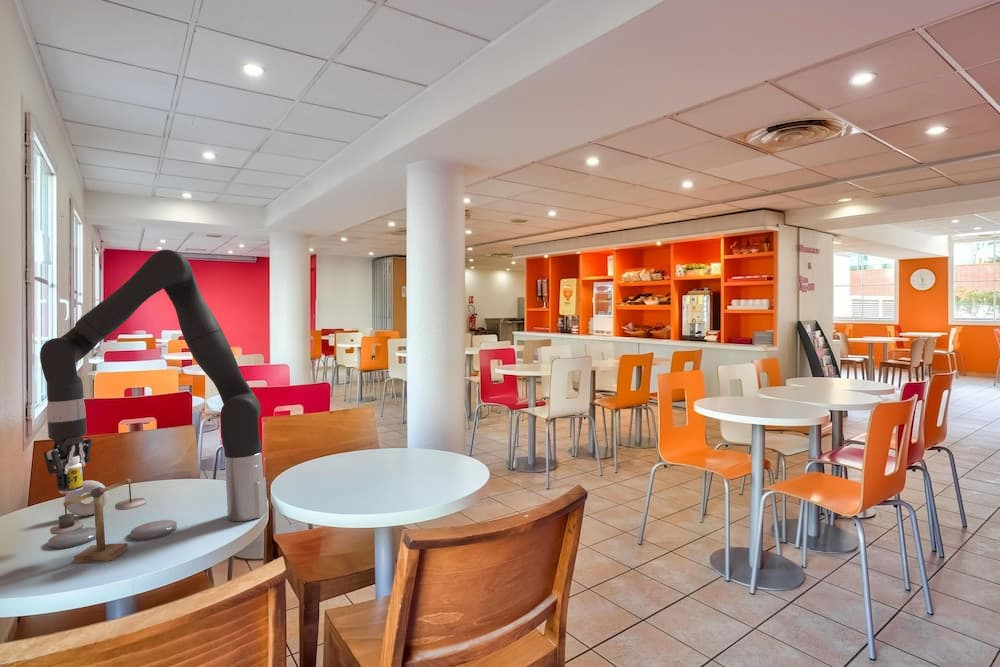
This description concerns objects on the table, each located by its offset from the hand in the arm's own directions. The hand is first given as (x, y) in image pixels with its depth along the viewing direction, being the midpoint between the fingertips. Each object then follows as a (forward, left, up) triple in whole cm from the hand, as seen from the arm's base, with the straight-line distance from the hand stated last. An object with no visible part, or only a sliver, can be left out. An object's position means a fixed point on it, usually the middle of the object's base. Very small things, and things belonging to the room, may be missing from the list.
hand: (71, 485), depth 136 cm
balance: (-13, +11, -14) cm, 22 cm away
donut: (+8, -18, -14) cm, 24 cm away
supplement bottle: (0, 0, -2) cm, 2 cm away
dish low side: (0, 0, -14) cm, 14 cm away
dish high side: (-18, -2, -14) cm, 23 cm away
